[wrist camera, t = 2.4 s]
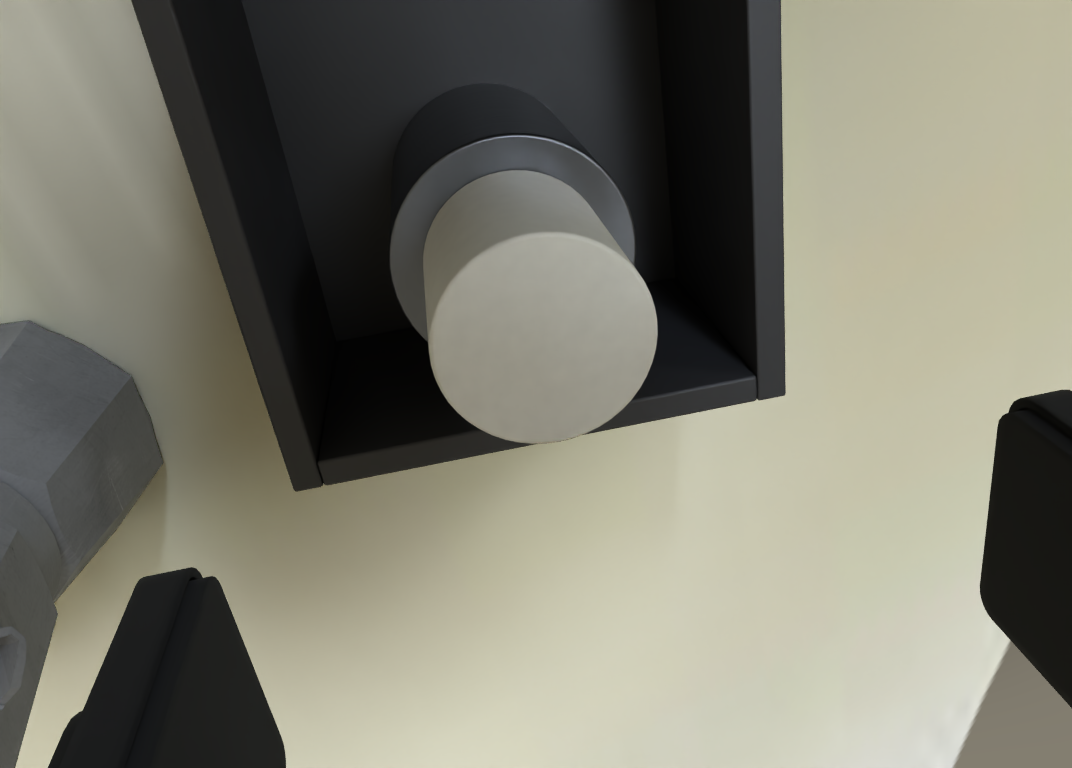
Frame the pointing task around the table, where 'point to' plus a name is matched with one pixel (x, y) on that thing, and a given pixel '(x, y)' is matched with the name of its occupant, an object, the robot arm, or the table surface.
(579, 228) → the cylinder
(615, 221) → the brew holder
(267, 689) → the table surface
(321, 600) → the table surface
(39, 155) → the table surface
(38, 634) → the coffeepot
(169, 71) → the coffee maker
